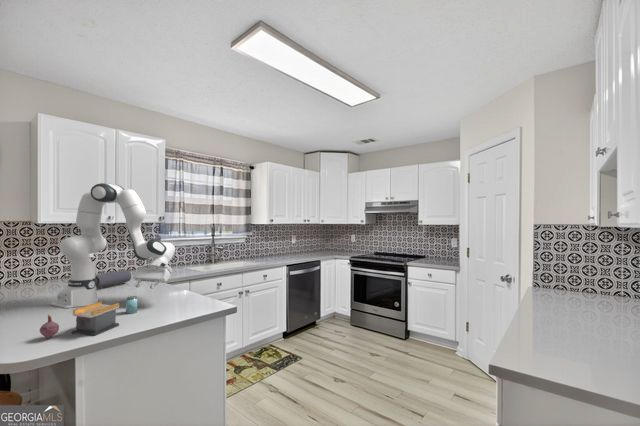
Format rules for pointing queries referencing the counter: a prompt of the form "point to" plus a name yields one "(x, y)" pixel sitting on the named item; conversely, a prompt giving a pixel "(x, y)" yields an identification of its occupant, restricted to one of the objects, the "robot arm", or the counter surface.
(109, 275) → the bluetooth speaker
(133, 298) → the teal glass jar
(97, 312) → the block
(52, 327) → the vegetable
